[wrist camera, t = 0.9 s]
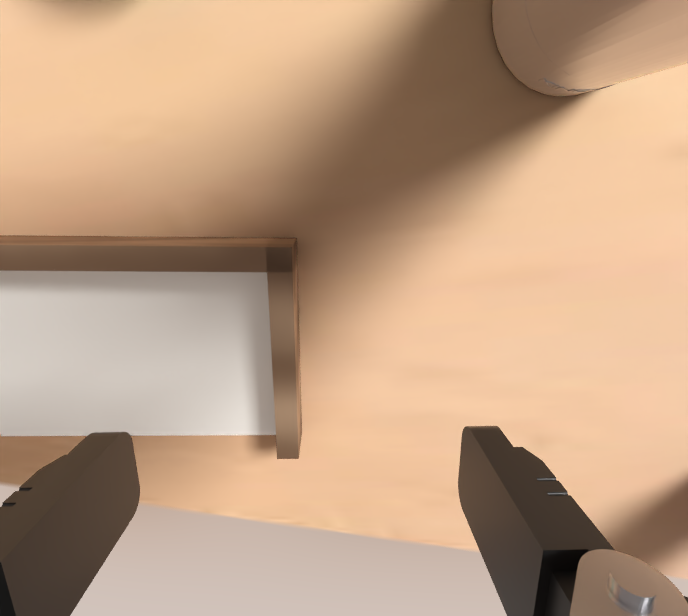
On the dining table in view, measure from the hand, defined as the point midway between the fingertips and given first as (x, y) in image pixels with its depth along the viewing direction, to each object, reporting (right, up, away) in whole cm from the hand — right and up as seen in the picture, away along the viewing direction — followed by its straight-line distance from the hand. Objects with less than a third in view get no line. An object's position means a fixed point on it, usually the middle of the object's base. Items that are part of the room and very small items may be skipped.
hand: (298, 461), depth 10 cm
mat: (-14, +1, +18) cm, 23 cm away
